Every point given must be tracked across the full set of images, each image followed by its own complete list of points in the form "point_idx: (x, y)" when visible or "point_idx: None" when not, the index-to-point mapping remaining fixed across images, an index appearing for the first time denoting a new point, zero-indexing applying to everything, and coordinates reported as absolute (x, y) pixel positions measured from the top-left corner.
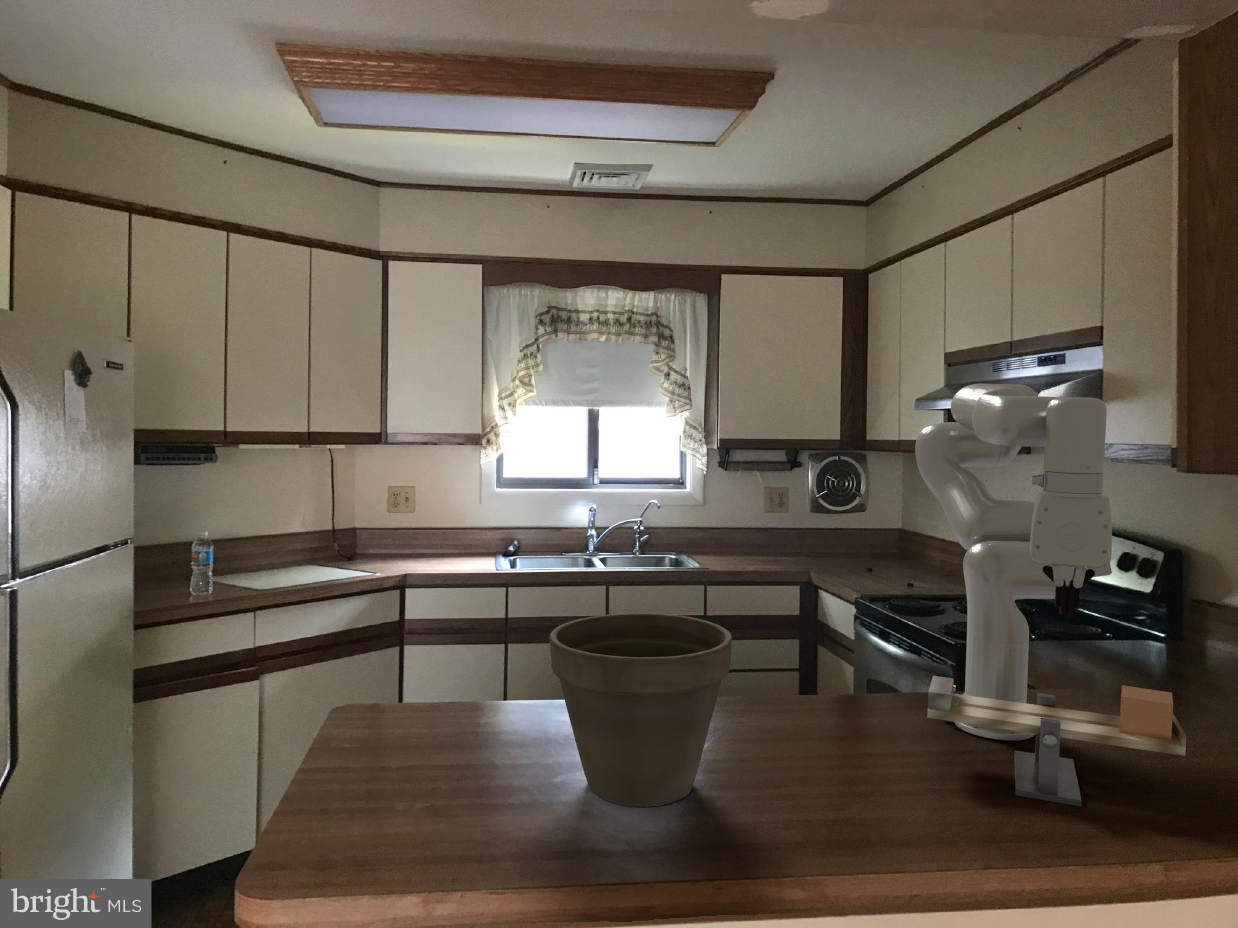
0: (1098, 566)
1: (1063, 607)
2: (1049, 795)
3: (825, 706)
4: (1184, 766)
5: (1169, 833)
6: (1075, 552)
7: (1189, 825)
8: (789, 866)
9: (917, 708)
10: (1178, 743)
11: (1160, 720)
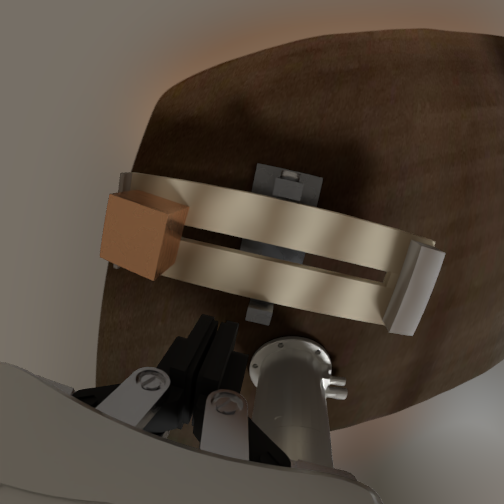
0: (22, 368)
1: (227, 332)
2: (289, 170)
3: (435, 377)
4: (131, 298)
5: (190, 122)
6: (81, 487)
7: (166, 147)
8: (483, 43)
9: (352, 399)
10: (132, 182)
11: (135, 195)
